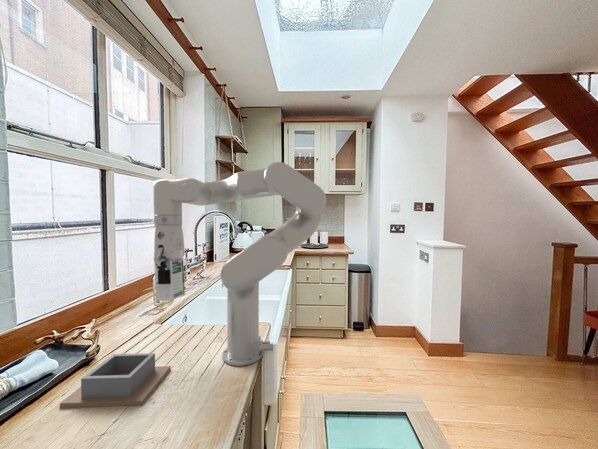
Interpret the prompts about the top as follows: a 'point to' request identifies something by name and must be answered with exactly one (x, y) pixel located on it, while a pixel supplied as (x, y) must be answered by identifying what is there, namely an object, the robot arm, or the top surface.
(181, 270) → the syrup box
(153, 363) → the caddy
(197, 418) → the top surface
